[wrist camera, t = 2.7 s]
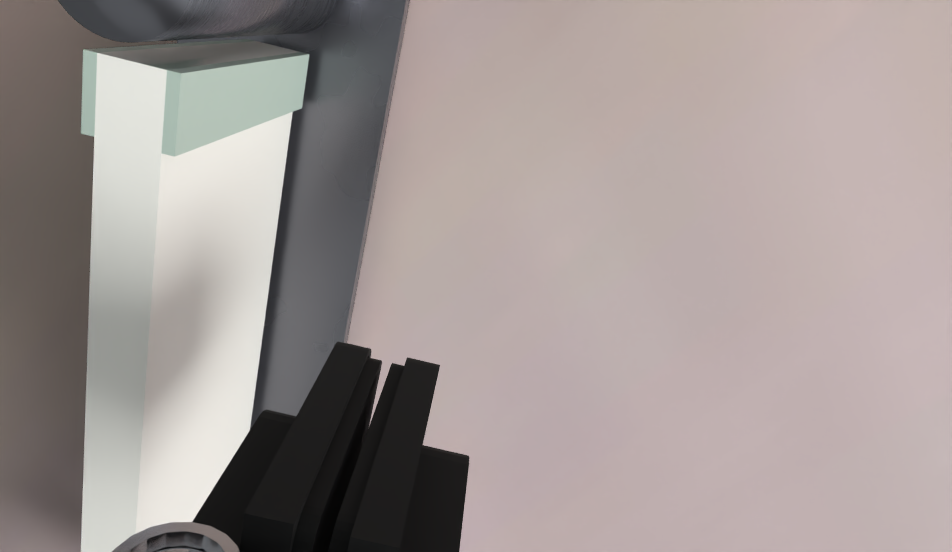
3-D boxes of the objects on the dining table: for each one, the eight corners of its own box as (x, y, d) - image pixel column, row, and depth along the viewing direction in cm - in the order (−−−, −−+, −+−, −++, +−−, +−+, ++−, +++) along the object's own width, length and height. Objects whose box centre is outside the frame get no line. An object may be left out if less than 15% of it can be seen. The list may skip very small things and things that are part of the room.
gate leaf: (240, 552, 20) (129, 755, 15) (193, 541, 20) (65, 740, 15) (309, 54, 15) (181, 73, 10) (247, 38, 15) (83, 49, 10)
